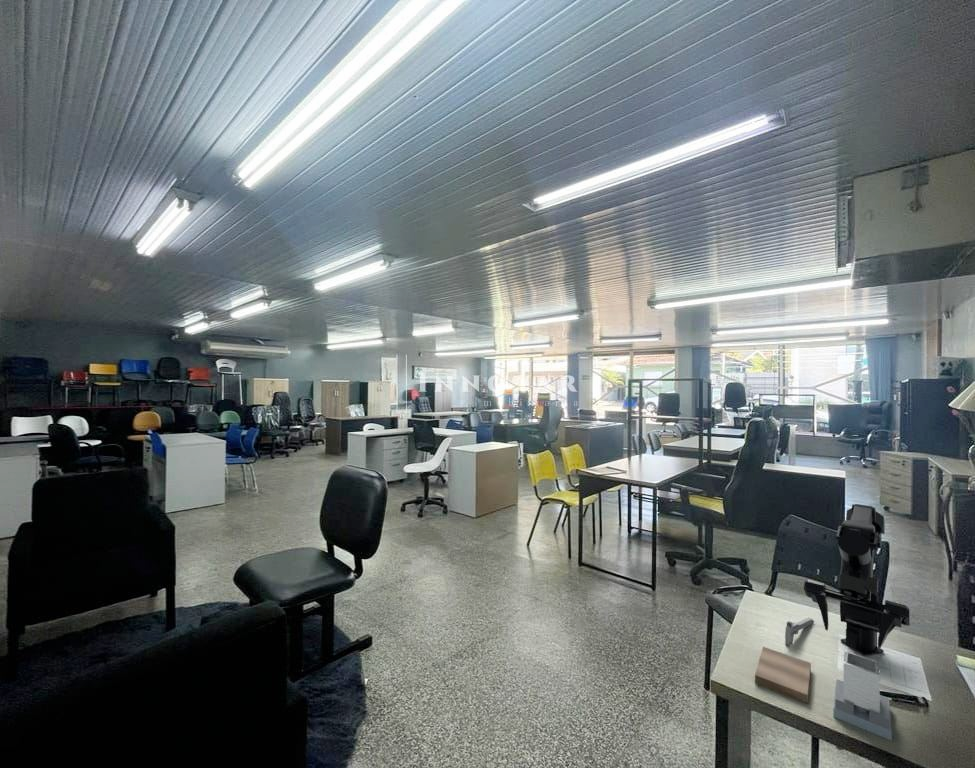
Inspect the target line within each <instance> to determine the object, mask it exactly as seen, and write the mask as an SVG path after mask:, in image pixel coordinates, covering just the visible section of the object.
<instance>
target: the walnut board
mask: <svg viewBox="0 0 975 768" xmlns="http://www.w3.org/2000/svg"><path fill="white" fill-rule="evenodd" d="M811 664H812V663H811V662H809V661H807V660H804V659H801V658H798V657H796V656H792V655H790V654H786V653H783V652H780V651H777V650H773V649H771V648H768V647H765V646H762V650H761V653H760V657H759V660H758V663H757V666H756V671H755V674H754V684H756V685H759V686H760V687H764V688H766V689H769V690H770V691H774V692H776V693H779V694H782V695H784V696H786V697H789V698H791V699H794V700H797V701H800V702H803V703H805V704H808V703H809V701H808V700H809V692H810V681H811V671H812V670H811V669H812V665H811Z"/></svg>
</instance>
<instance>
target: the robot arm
mask: <svg viewBox="0 0 975 768" xmlns="http://www.w3.org/2000/svg"><path fill="white" fill-rule="evenodd" d="M845 516H846V517H845V520H843V522H842V523H841V525H838V527H837V532H836V536H835V539H836V542H837V546H838V550H839V553H840V556H841V561H840V562H841V564H840V573H838V578H837V590H838V591H835V590H832V589H828V588H827V587H826V584H825V583H824V582H819V581H816V580H812V579H806V580H805V581H804V584H803V590H804V592H805V595H806V596H807V598H810V599H811V601H812V602H814V603H817V605H818V607H819V611H820V613H821V615H820V616H821V618H822V621H823V625H824V630H825V631H829V607H828V606H829V605H828V601H827V598H828V599H832V600H834V601H835V600H836V601H838V602H839V614H840V618H839V619H840V622H842V623H846V624H845V625H846V626H845V627H846V628H845V638H841V639H840V642H841V643H843V644H844V645H846V646H848V647H850V648H851V649H853V650H855V651H857V652H858V653H860V654H862V655H863V656H872V655H876V654H882V653H884V649H882V646H883V645H884V643H885V642H886V641H885V640H886V639H887V637H888V636H889V635H890V633H891V632H892V631H893V630H894V629H895V628H896V627H897V628H902V627H903V626H909V627H910V626H911V625H910V624H911V623H910V622H911V619H910V618H911V617H910V616H911V613H910V608H909V607H908V606H907V605H905V604H902V603H899V602H894V601H890V600H886V599H885V600H884V604H883V603H880V602H879V600H878V597H877V596H876V594H877V593H879V579H878V578H876V577H873V574H874V551H877V550H878V548H879V549H881V547H882V534H883V535H885V533H886V527H885V526H886V523H885V516H884V515H883V514H881V513H880V512H878V511H877V510H876V507H873V506H872V505H866V504H860V503H853V504H851V508H849V509H847V510H846V514H845Z"/></svg>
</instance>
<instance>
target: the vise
mask: <svg viewBox="0 0 975 768" xmlns="http://www.w3.org/2000/svg"><path fill="white" fill-rule="evenodd" d="M834 686H835V687H834V696H833V698H834V699H833V709H832V710H833V718H835V719H838V720H840V721H843V722H845V723H847V724H850V725H853V726H855V727H858V728H860V729H862V730H865V731H868V732H870V733H872V734H875V735H877V736H880V737H881V738H884V739H887V740H889V741H893V739H892V737H893V736H892V735H893V734H892V733H893V732H892V719H891V706H890V699H889V698H888V696H884V695H882V694H880V714H878V713H875V712H873V711H870V710H867V709H865V708H862V707H860V706H857V705H854V704H852V703H849V702H847V701H844V680H840V679H836V680H835V685H834Z"/></svg>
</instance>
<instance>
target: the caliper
mask: <svg viewBox="0 0 975 768" xmlns="http://www.w3.org/2000/svg"><path fill="white" fill-rule="evenodd" d="M813 622H815V620H814V619H813V618H811V617H809V616H807V617H806V618H804V619H802V620H800V621H798V622H792V621H786V626H785V632H784V633H785V635H784V638H785V641H784V644H785V646H788V647H791V645H793V642H794V636H795V635H798V634H799V631H800V630H803V629H806V627H809V626H810V625H812V624H813Z"/></svg>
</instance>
